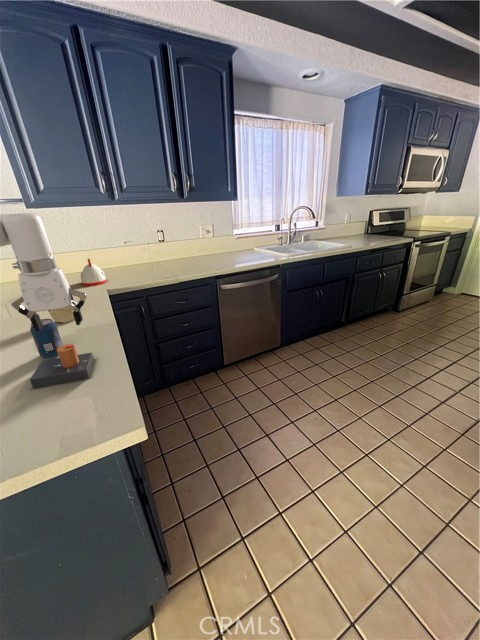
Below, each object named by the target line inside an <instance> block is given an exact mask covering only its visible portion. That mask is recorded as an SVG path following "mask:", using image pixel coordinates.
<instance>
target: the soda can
mask: <svg viewBox="0 0 480 640" xmlns="http://www.w3.org/2000/svg"><path fill="white" fill-rule="evenodd" d="M40 319H41V318H40ZM41 322H42V324H43V328H42V329H41V330H40V331H36V329H35V328H34V327H33V325H32V323H31V322H30V329H29V331H30V334H31V336H32V339H33V341H34V344H35V346H36V349H37V352H38V354H39V356H40V357H42V358H43V359H44V360H49V359H55V358H58V357H59V355H58V352H57V348H59V347H60V346H62V345H64V344H63V341H62V338H61V335H60V333H59V329H58V327H57V324H56V322H55V321H54V320H53V318H42V319H41Z"/></svg>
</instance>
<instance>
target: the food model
mask: <svg viewBox="0 0 480 640" xmlns="http://www.w3.org/2000/svg"><path fill="white" fill-rule="evenodd" d="M47 311H48V313H49V315H50V317H51V319H52V321H53V322H54V323H62V324H63V323H64V324H67V323H69V322H71V321H74V320H75V319H74V316H73V312H74V311H73V310H72V309H70V308H69V307H66V308H61V309H54V310H47Z"/></svg>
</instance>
